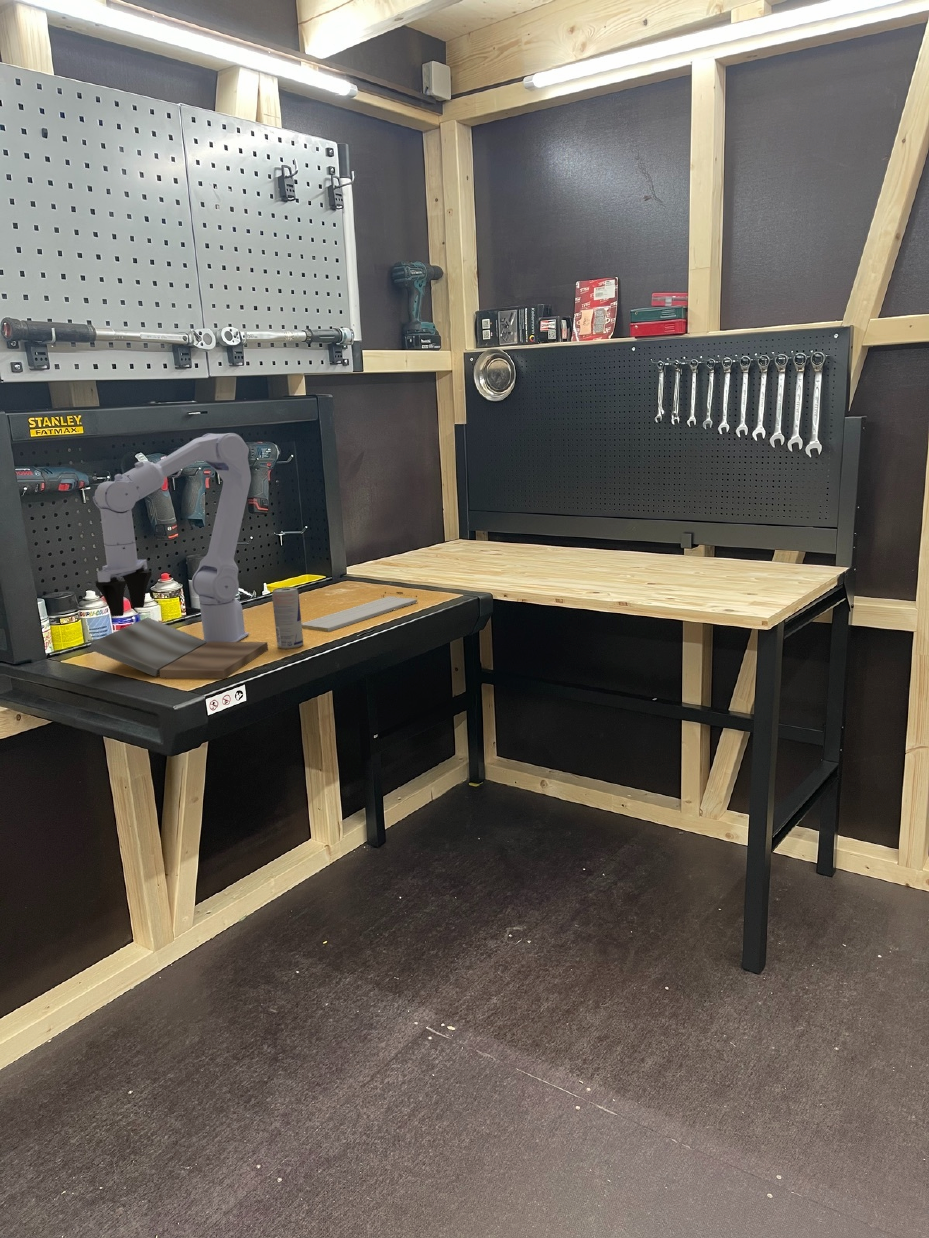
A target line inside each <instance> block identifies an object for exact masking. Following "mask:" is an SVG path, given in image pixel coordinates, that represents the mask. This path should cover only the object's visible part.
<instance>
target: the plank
mask: <svg viewBox="0 0 929 1238" xmlns="http://www.w3.org/2000/svg"><path fill="white" fill-rule="evenodd" d="M90 643H91V644H90V647H89V650H91V651H92V652H95V653H97V654H99V655H102V656H104V657H107V658H109V659H112V660H114V661H116V662H119V663H122V664H124V665H126V666H129V667H131V668H133V669H135V670H139V671H140V672H143V673H145V674H148V675H151V676H153V677H157V676H160V671H159V670H160V669H162V668H163V667H165V666H167V665H169V664H171V663H172V662H174V661H176V660H178V659H179V658H181V657H183V656H185V655H187V654H188V653H190V652H192V651H194V650H195V649H197V648H199V647H201V646H202V645H204V644H206V643H207V641H204V640H203V639H202V638H200V637H197V636H194V635H192V634H189V633H188V632H185V631H182V630H179V629H177V628H175V627H173V626H170V625H167V624H165V623H163V622H160V621H158V620H155V619H153V618H150V617H145V618H143V619H141V620H139V621H135V622H134V623H132V624H130V625H127V626H125V627H123V628H121V629H119V630H116V631H114V632H111V633H109V634H108V635H105V636H103V637H101V638H97V639H96V640H93V641H92V642H90Z"/></svg>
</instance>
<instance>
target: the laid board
mask: <svg viewBox="0 0 929 1238" xmlns="http://www.w3.org/2000/svg"><path fill="white" fill-rule="evenodd" d="M268 650H269V647H268V642H267V641H237V642H208V643H206V644H204V645H202V646H201V647H199V648H197V649H195V650H194V651H192V652H190V653H188V654H187V655H185V656H183V657H181V658H179V659H178V660H176V661H174V662H172V663H171V664H169V665H167V666H165V667H163V668H162V669H160V670H159V671H160V674H159V677H160V679H198V678H217V679H216V680H225V679H226V678H228V677H229V676H231V675H232V674H233V673H235V672H236V671H238V670H240V669H241V668H243V667H244V666H245V664H246V665H247V664H248V663H249V664H250V662H252V661H253V660H255V659H257V658H259V656H261V655H262V654H264V653H265V652H267V651H268ZM230 674H231V675H230ZM165 677H166V678H165ZM172 677H173V678H172ZM224 678H225V679H224Z"/></svg>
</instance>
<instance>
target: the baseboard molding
mask: <svg viewBox="0 0 929 1238" xmlns="http://www.w3.org/2000/svg"><path fill="white" fill-rule="evenodd" d="M385 594H387V592H386V591H384V594H383V595H382V597H381V598H379V599H376V600H372V601H369V602H366V603H364V604H363V603H362V604H359V605H357V606H354V607H350V608H347V609H343V610H340V611H337V612H334V613H330V614H327V615H324V616H321V617H318V618H314V619H311V620H308V621H305V622H301V623H302V629H304V630H305V629H306V630H313V631H317V632H318V631H320V632H326V633H330V632H332V631H333V632H334V631H337V630H338V629H342V628H344V627H349V626H351V625H353V624H356V623H359V622H363V621H366V620H369V619H372V618H375V617H374V616H376V617H378V615H379V616H381V614H382V615H384V614H383V613H385V614H387V613H391V612H393V611H392V610H394V609H397V610H400V609H402V608H401V607H403V608H405V607H404V606H406V607H409V606H412V605H415V604H417V603H418V599H417V597H418V595H416V594H415V597H416V598H407V597H401V596H402V595H404V592H403V591H402V592H401V591H399V592H398V591H396V593H395V594H397V595H401V596H400V597H398V596H391V594H392V595H393V593H391V592H389V594H390V595H388V596H385ZM407 596H409V597H410V596H411V595H410V594H409V595H408V594H407ZM416 602H417V603H416ZM414 603H415V604H414ZM411 604H412V605H411ZM399 608H400V609H399ZM390 611H391V612H390ZM394 611H395V610H394Z"/></svg>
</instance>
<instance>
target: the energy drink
mask: <svg viewBox="0 0 929 1238" xmlns="http://www.w3.org/2000/svg"><path fill="white" fill-rule="evenodd" d="M271 597H272V607H273V617H274V627H275V635H276V636H275V638H276V646H277V647H278V649H282V650H283V649H284V650H291V649H297V648H299V647H302V646H303V645H304V635H303V628H302V623H303V622H302V615H301V606H300V605H301V604H300V602H301V601H300V593H299V590H298V587H295V586H283V587H277V588H275V589H274V588H273V589H272V594H271Z"/></svg>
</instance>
